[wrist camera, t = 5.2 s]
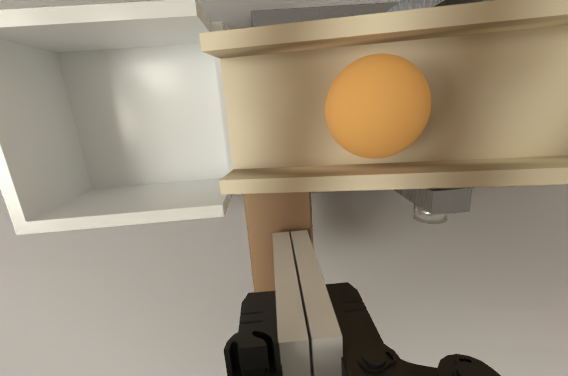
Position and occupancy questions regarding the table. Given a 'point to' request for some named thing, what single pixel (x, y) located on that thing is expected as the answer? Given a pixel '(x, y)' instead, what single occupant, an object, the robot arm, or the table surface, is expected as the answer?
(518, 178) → the lever
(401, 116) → the ball
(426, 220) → the stand
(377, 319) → the table surface
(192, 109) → the white open box
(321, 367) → the robot arm
